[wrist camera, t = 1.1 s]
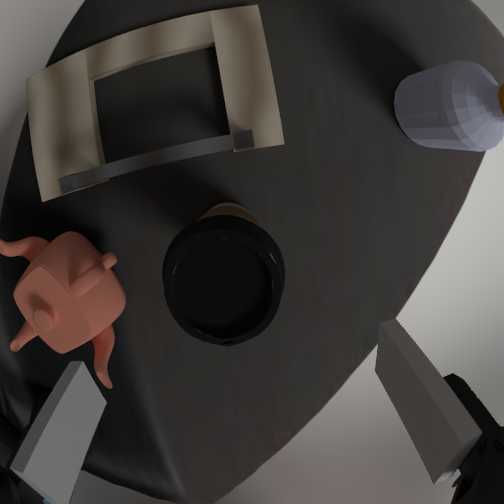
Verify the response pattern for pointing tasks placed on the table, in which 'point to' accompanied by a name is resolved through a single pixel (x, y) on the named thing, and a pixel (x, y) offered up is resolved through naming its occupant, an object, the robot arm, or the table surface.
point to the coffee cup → (223, 276)
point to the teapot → (68, 295)
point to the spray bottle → (452, 107)
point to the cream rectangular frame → (135, 53)
